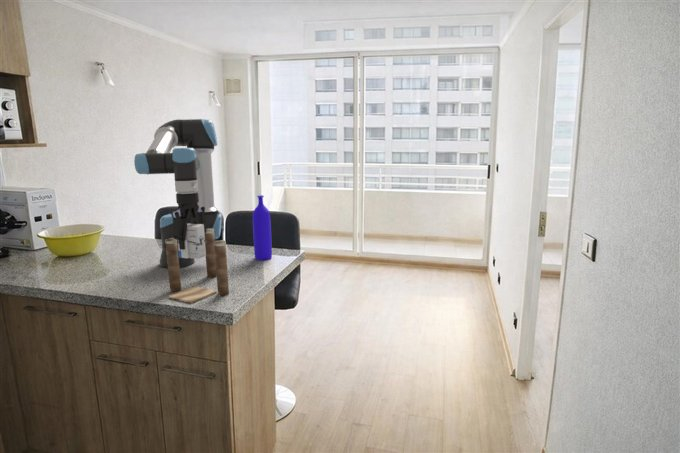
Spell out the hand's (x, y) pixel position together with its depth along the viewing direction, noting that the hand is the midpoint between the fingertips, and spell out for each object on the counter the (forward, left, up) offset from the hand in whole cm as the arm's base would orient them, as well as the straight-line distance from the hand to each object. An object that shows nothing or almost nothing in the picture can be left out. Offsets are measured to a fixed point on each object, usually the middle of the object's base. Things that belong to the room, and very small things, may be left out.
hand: (192, 255), depth 161 cm
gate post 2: (-10, +19, -15) cm, 26 cm away
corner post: (+9, +5, -15) cm, 18 cm away
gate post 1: (-10, 0, -15) cm, 18 cm away
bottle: (-8, +50, -15) cm, 53 cm away
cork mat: (0, -1, -15) cm, 15 cm away
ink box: (0, 0, -1) cm, 1 cm away
